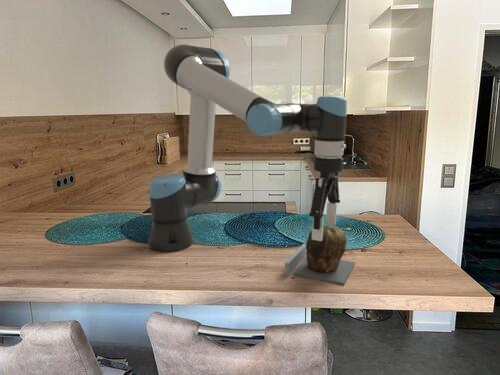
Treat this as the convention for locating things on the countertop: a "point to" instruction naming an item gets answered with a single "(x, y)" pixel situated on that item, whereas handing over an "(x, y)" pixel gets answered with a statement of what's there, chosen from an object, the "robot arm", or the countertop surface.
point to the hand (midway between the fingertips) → (324, 231)
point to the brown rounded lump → (326, 250)
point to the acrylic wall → (295, 259)
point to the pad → (334, 277)
